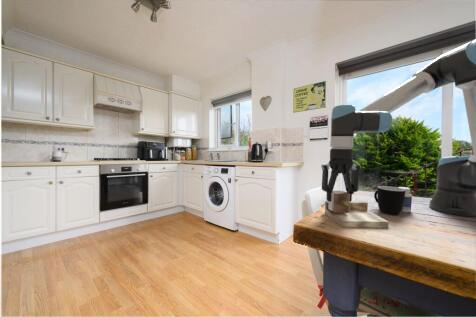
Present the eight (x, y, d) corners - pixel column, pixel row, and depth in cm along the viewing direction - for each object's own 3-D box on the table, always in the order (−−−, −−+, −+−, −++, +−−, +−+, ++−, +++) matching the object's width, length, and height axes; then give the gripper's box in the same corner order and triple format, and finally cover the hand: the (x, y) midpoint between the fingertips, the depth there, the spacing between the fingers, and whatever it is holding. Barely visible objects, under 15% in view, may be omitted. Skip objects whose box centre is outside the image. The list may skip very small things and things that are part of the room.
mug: (409, 216, 79) (411, 190, 78) (389, 217, 77) (391, 191, 77) (382, 206, 91) (384, 184, 90) (365, 207, 89) (366, 184, 88)
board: (364, 213, 81) (365, 201, 80) (388, 227, 68) (389, 213, 67) (324, 213, 81) (325, 201, 80) (340, 226, 68) (341, 212, 68)
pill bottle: (414, 212, 83) (416, 189, 82) (401, 212, 83) (402, 189, 82) (403, 208, 88) (405, 186, 87) (391, 208, 88) (392, 186, 87)
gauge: (341, 208, 78) (342, 190, 78) (357, 218, 68) (358, 198, 67) (328, 208, 78) (329, 190, 78) (342, 218, 68) (343, 198, 67)
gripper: (359, 148, 78) (356, 206, 80) (313, 147, 78) (311, 206, 80) (372, 148, 70) (368, 213, 72) (320, 148, 70) (318, 212, 72)
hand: (338, 209), depth 76 cm, fingers closed on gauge, 5 cm apart
